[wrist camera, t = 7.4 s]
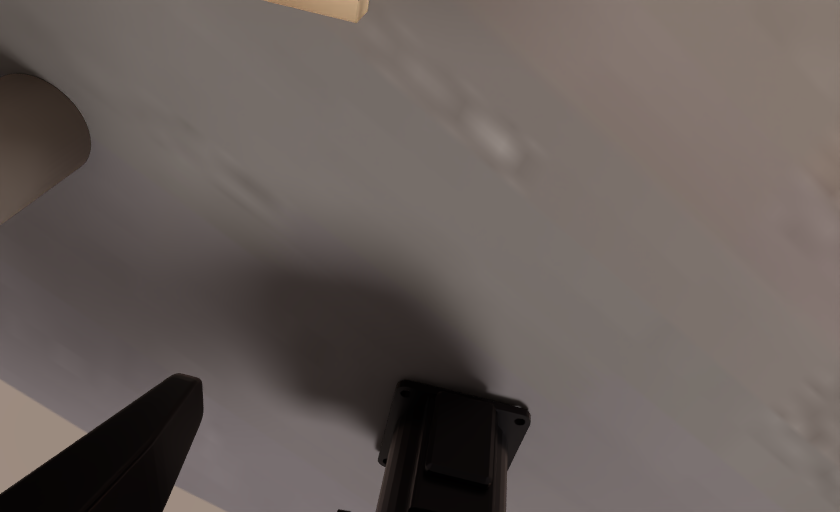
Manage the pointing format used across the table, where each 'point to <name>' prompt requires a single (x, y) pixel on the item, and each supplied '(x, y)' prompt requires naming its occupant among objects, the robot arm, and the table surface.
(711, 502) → the table surface
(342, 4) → the maple picture frame
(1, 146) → the pepper shaker
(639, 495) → the table surface
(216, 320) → the table surface
